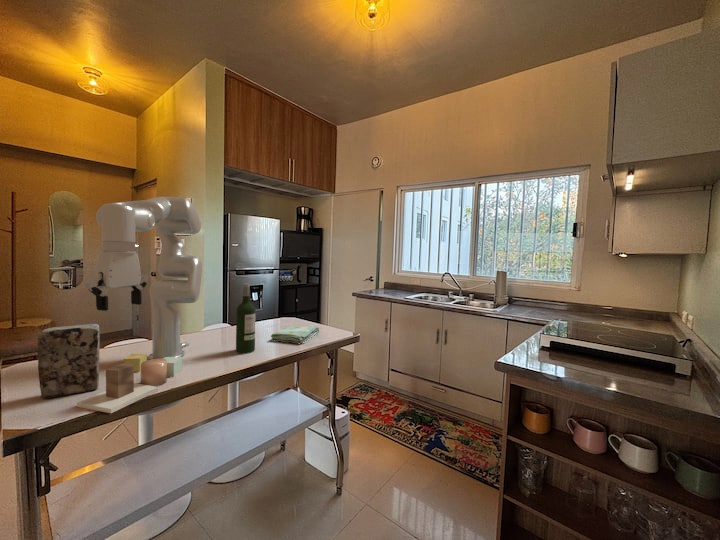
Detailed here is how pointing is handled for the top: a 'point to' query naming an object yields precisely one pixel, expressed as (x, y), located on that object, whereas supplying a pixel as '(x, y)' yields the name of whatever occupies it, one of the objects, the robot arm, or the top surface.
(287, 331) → the towel
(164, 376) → the peach rounded cube
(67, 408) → the top surface
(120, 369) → the walnut block
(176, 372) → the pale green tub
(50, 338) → the stone block
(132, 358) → the mustard cube
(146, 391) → the cream board
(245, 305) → the wine bottle
